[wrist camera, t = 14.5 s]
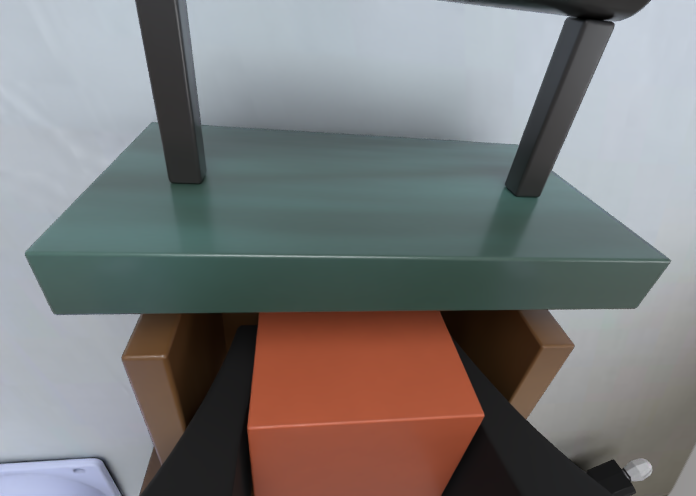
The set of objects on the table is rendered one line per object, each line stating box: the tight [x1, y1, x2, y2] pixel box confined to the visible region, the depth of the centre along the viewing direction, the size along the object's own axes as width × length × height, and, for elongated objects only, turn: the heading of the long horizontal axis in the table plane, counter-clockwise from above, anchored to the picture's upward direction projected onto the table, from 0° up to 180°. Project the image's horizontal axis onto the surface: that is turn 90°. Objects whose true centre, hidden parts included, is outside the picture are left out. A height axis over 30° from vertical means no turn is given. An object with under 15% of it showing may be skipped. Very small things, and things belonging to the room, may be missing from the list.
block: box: [247, 311, 484, 496], centre depth 10 cm, size 4×4×5 cm
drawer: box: [25, 0, 671, 496], centre depth 10 cm, size 17×10×6 cm, turn 174°
